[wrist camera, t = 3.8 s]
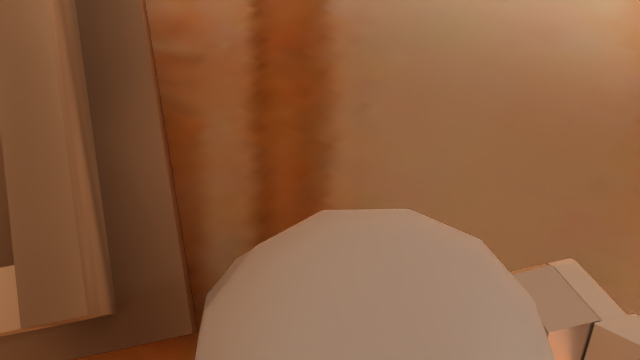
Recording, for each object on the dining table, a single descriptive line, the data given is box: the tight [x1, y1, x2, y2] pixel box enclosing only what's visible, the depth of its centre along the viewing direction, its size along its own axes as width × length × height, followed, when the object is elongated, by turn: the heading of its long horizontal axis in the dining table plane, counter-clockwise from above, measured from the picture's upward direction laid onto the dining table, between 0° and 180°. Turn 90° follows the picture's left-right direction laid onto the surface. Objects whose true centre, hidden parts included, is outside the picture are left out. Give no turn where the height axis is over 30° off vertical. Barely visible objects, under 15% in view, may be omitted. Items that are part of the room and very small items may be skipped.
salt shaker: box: [195, 209, 555, 360], centre depth 12 cm, size 6×6×13 cm
